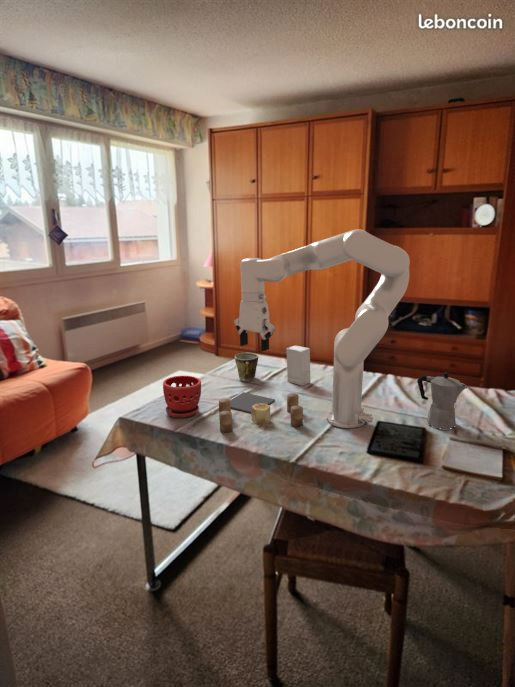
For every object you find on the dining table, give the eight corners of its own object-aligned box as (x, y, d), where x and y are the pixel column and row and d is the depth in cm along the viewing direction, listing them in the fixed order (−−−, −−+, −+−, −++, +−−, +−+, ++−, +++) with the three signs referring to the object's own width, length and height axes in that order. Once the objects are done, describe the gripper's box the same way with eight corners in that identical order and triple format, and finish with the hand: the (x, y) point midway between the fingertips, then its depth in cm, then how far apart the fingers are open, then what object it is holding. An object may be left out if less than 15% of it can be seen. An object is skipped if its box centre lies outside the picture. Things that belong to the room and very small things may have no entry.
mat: (274, 400, 171) (274, 399, 171) (255, 414, 159) (255, 412, 159) (243, 393, 178) (243, 392, 178) (222, 406, 166) (222, 404, 166)
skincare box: (310, 382, 189) (311, 348, 184) (301, 386, 184) (301, 351, 180) (295, 377, 194) (295, 344, 190) (285, 381, 190) (286, 347, 186)
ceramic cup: (234, 375, 198) (233, 353, 196) (257, 374, 199) (257, 352, 197) (236, 385, 186) (235, 362, 183) (260, 384, 187) (260, 361, 184)
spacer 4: (304, 423, 152) (305, 407, 150) (299, 428, 149) (299, 411, 147) (293, 421, 154) (294, 404, 152) (288, 425, 151) (288, 408, 149)
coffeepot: (465, 423, 151) (471, 372, 146) (458, 434, 143) (465, 381, 138) (418, 412, 159) (422, 363, 154) (409, 422, 152) (414, 371, 147)
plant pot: (187, 423, 153) (185, 390, 150) (157, 415, 159) (154, 383, 156) (209, 409, 164) (208, 377, 161) (180, 402, 170) (178, 372, 167)
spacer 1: (233, 416, 158) (232, 400, 157) (226, 420, 155) (226, 404, 153) (223, 413, 160) (223, 397, 158) (216, 418, 157) (216, 401, 155)
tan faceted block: (258, 415, 159) (258, 401, 157) (272, 418, 156) (272, 405, 155) (249, 422, 154) (248, 408, 152) (263, 425, 151) (263, 411, 149)
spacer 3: (300, 410, 162) (300, 394, 161) (295, 414, 159) (295, 398, 157) (290, 408, 164) (290, 392, 163) (285, 412, 161) (285, 396, 159)
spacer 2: (234, 429, 149) (234, 412, 147) (227, 434, 145) (227, 416, 144) (224, 426, 151) (224, 409, 149) (217, 431, 147) (216, 414, 146)
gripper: (281, 298, 145) (281, 349, 149) (242, 292, 156) (243, 341, 161) (265, 301, 139) (266, 355, 144) (226, 295, 151) (228, 345, 155)
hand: (254, 347), depth 152 cm, fingers open, 9 cm apart
